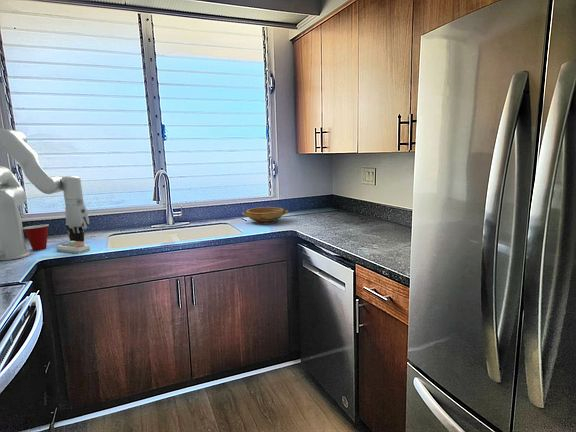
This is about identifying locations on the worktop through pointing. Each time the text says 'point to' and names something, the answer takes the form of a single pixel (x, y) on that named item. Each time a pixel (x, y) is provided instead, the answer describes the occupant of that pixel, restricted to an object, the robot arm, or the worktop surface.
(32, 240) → the plastic cup
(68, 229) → the coffee mug
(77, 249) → the keypad
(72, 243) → the sage key
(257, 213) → the ceramic bowl
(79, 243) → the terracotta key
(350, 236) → the worktop surface
